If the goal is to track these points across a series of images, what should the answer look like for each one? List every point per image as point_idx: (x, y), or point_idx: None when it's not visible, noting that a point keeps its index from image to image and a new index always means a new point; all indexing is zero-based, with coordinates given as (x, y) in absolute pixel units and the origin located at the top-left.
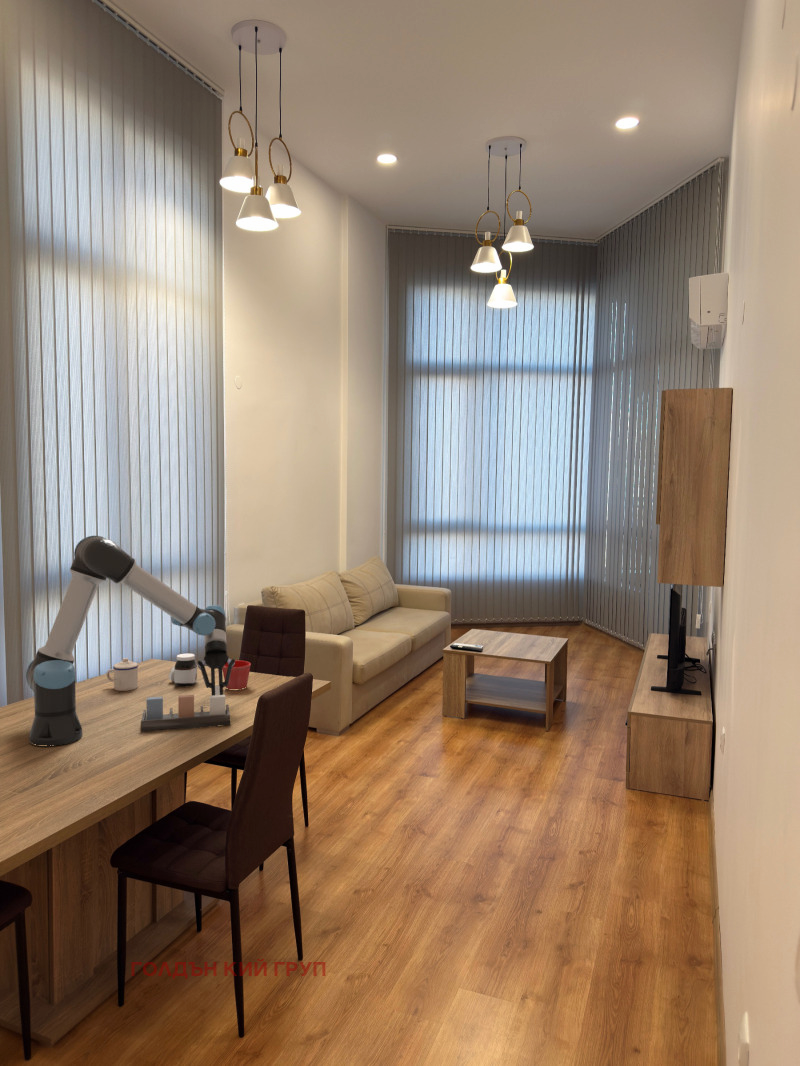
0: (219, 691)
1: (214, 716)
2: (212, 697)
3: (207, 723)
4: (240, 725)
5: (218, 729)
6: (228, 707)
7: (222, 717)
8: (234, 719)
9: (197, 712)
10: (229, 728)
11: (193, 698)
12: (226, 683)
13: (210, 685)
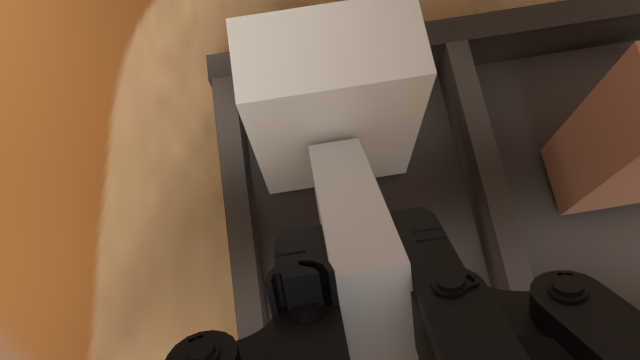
0: (323, 215)
1: None
2: (383, 1)
3: None
4: (146, 97)
5: None
6: (236, 286)
7: None
8: (197, 246)
9: None
10: (226, 40)
11: (630, 53)
12: (204, 336)
13: (498, 296)
